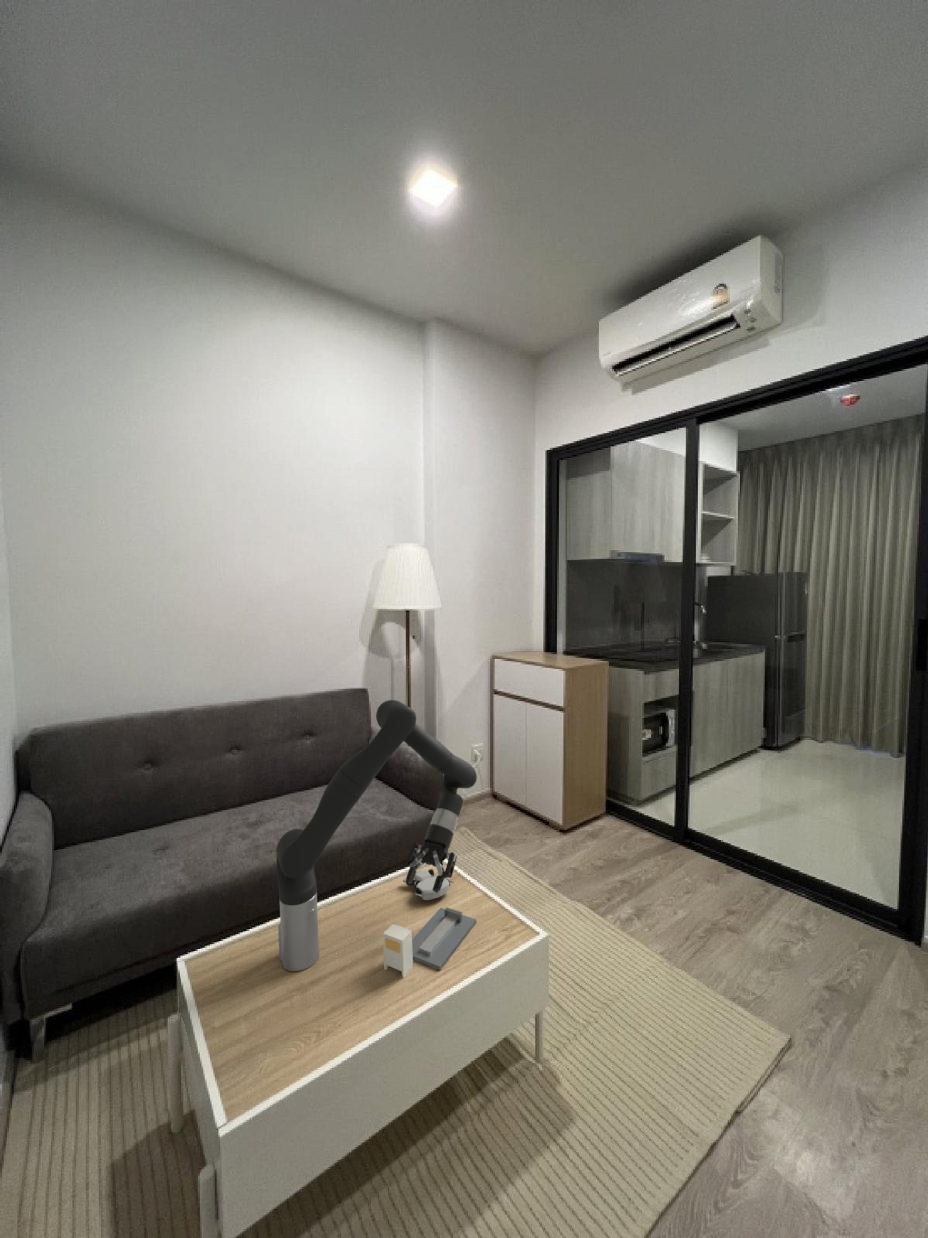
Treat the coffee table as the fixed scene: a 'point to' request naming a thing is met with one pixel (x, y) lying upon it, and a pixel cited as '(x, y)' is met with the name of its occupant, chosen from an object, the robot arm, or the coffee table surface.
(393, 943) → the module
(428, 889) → the robot toy
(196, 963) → the coffee table surface
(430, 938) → the rail
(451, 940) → the rail board
